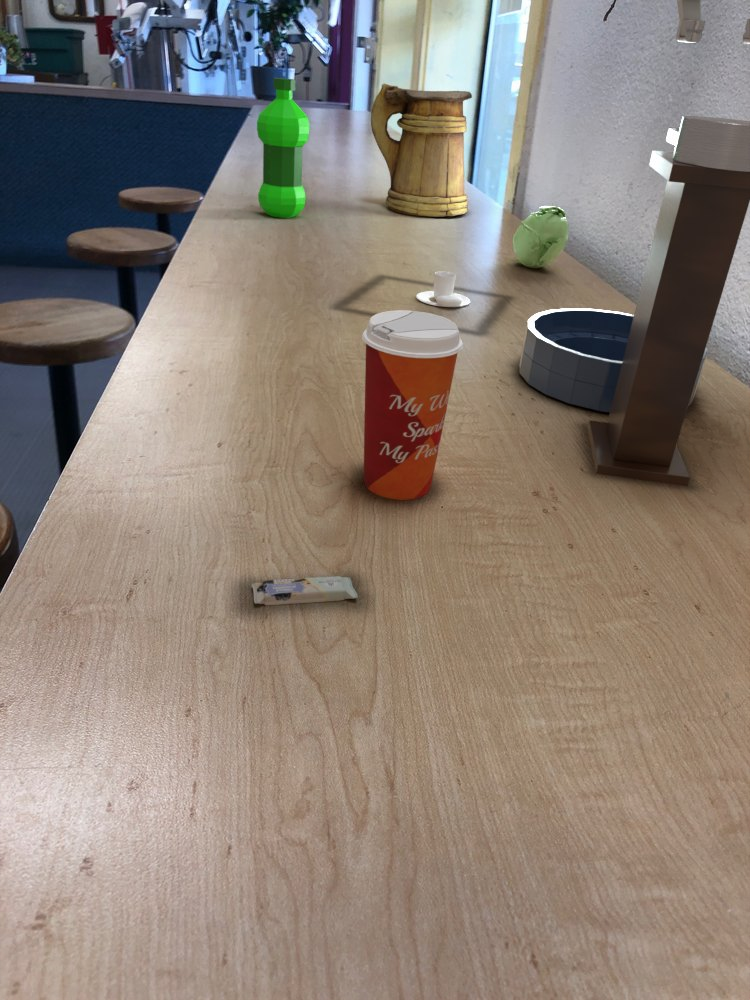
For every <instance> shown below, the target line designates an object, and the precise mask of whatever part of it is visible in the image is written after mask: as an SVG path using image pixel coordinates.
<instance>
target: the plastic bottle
mask: <svg viewBox="0 0 750 1000" xmlns="http://www.w3.org/2000/svg"><path fill="white" fill-rule="evenodd" d="M272 82H273V83H272V84H273V87H272V88H273V89H274V90H275V98H274V99H273V100H272V101H271V102H270V103H269V104H268V105H267V106H266V107H265V108H264V109H263V110H262V111H261V112H260V113H259V115H258V118H257V120H256V131H257V137H258V139H259V140H260V141H261V143H262V144H263V146H262V147H263V151H262V152H263V153H262V155H263V157H262V159H263V160H262V164H263V165H262V184H261V185H260V188H259V191H258V197H257V198H258V199H257V200H258V203H259V206H260V208H261V209H262V210H263V212H265V213H266V215H268V216H269V217H273V218H279V219H290V218H294V217H297V216H298V215H299V214H300V213H301V212H302V211H303V210H304V208H305V205H306V198H307V196H306V195H307V194H306V191H305V188H304V186H303V184H302V181H303V180H302V178H303V151H304V148H303V147H304V146H305V144H307V142H308V141H309V137H310V131H311V129H310V126H311V124H310V120H309V118H308V116H307V114H306V113H305V112H304V111H303V109H302V108H301V107H300V106H299V105H298V104H297V103H296V101H294V100H293V92H295V91H296V79H294V78H284V77H273V81H272Z"/></svg>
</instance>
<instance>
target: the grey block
mask: <svg viewBox="0 0 750 1000" xmlns="http://www.w3.org/2000/svg"><path fill="white" fill-rule="evenodd" d="M665 141H666V142H667V143H669V144H671V145H672V146H675V147H674V151H673V152H674V154H673V158H672V159H673V160H674V161H677V162H680V163H684V164H689V165H694V166H700V167H706V168H714V169H722V170H730V171H742V172H750V120H742V119H733V118H724V117H722V118H721V117H714V116H713V117H712V116H700V115H699V116H697V115H683V116H682V118H681V122H680V127H679V128H678V127H668V130H667V135H666V138H665Z"/></svg>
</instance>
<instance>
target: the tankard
mask: <svg viewBox="0 0 750 1000" xmlns="http://www.w3.org/2000/svg"><path fill="white" fill-rule="evenodd" d="M472 98H473V95H472V93H471V92H470V91H466V90H417V89H416V90H415V89H409V88H402V87H399V86H398V85H390V84H387V83H382V84H381V88H380V89H379V92H378V94H377V95H376V96H375V99H374V101H373V103H372V107H371V111H370V125H371V126H370V127H371V132H372V134H373V137H374V138H373V139H374V140H375V143H376V145H377V147H378V149H379V151H380V153H381V155H382V157H383V159H384V161H385V163H386V166H387V169H388V172H389V176H390V187H389V188H388V191H387V196H386V197H385V203H386V205H387V206H388V209H389V210H391V211H393V212H396V213H398V214H405V215H410V216H419V217H432V218H433V217H434V218H435V217H436V218H437V217H455V216H461V215H464V214H466V213H467V212H468V211H469V207H468V205H469V201H468V195H467V194H466V187H465V136H464V135H465V134H464V133H466V132H467V128H468V127H467V116H465V115H464V101H468V100H470V99H472ZM397 114H400V115H401V117H400V118H399V119H397V121H396V125H397V126H398V127H399V128H401V129H402V130H401V135H400V138H399V140H397V139H394V138H393V137H391V135H390V133H389V130H388V125H389V121H390V119H391V117H392V116H394V115H397Z"/></svg>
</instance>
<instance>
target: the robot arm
mask: <svg viewBox="0 0 750 1000" xmlns="http://www.w3.org/2000/svg"><path fill="white" fill-rule="evenodd" d="M676 4H677V13H678V19H679V22H678V26H677V30H676V35H675V39H676V41H677V42H678V43H679V42H680V43H693V44H694V43H699V42H700V41H701V40H702V37H703V31H704V29H705V25H706V20H702V19H701V17H702V16H701V13H702V12H701V8H702V7H701V0H676ZM744 29H745V31H744V33H743V35H742V42H743V44H745V45H750V18H747V20H746V24H745V28H744Z"/></svg>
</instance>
